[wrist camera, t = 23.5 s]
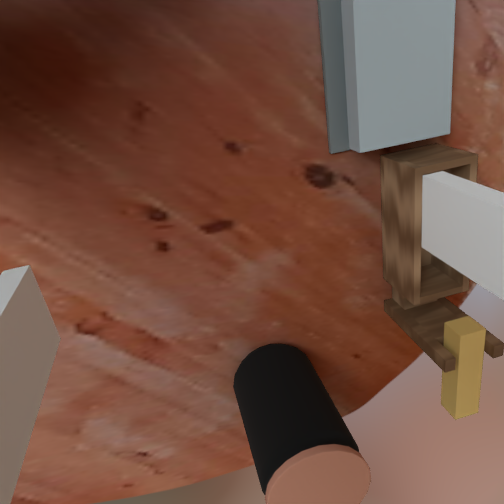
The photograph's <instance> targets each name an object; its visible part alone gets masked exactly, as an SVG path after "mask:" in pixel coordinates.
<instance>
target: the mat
mask: <svg viewBox="0 0 504 504" xmlns="http://www.w3.org/2000/svg"><path fill="white" fill-rule="evenodd" d="M317 1H318V14H319V27H320V40H321V53H322V66H323V79H324V91H325V104H326V117H327V130H328V143H329V153H331V154H332V153H337V152H342V151H346V150H351V149H349V133H348V116H347V98H346V81H345V63H344V46H343V28H342V11H341V0H317Z"/></svg>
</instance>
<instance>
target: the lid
mask: <svg viewBox="0 0 504 504" xmlns="http://www.w3.org/2000/svg"><path fill="white" fill-rule="evenodd" d="M455 3H456V0H341V11H342V28H343V46H344V63H345V81H346V98H347V116H348V133H349V149H351V150H354V151H356V152H359V153H362V152H367V151H372V150H376V149H381V148H386V147H390V146H395V145H400V144H404V143H409V142H414V141H418V140H423V139H428V138H432V137H437V136H442V135H446V134H450V122H451V98H452V74H453V50H454V26H455Z"/></svg>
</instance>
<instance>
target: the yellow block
mask: <svg viewBox="0 0 504 504" xmlns="http://www.w3.org/2000/svg"><path fill="white" fill-rule="evenodd" d="M485 335H486V328H484V327H483V326H482V325H480V324H479V323H478V322H476V321H475V320H474V319H473V318H471V317H470V316H466V317H462V318H459V319H455V320H452V321H448V322H445V323H444V345H443V346H444V347H445V348H446V349H447V350H448V351H449V352H450V353H451V354H452V355H453V356H454V357H455V358H456V363H455V370H453V371H449V372H446V373H445V372H444V371H443V370H442V391H441V404H442V405H443V407H444V408H445V409H446V410H447V411H448V412H449V413H450V415H451V416H452V417H453V418H454V419H455V420H456V419H459V418H463V417H466V416H469V415H472V414H475V413H478V408H479V397H480V387H481V377H482V366H483V356H484V345H485Z"/></svg>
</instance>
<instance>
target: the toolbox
mask: <svg viewBox="0 0 504 504" xmlns="http://www.w3.org/2000/svg"><path fill="white" fill-rule="evenodd" d="M477 165H478V154H475V153H471V152H467V151H464V150H460V149H456V148H452V147H449V146H445V145H441V144H437V143H434V144H430V145H425V146H421V147H416V148H411V149H407V150H402V151H398V152H393V153H388V154H384V155H380V170H381V208H382V245H383V278H384V279H385V280H386V281H387V282H388V283H389V284H390V285H392V299H388V300H384V311H385V312H386V313H387V314H388V315H389V316H390V317H391V318H392V319H393V320H394V321H395V322H396V323H397V324H398V325H399V326H400V327H401V328H402V329H403V330H404V331H405V332H406V333H407V334H408V335H409V336H410V337H411V339H412V340H413V341H414V342H415V343H416V344H417V345H418V346H419V347H420V348H421V349H422V350H423V351H424V352H425V353H426V354H427V355H428V356H429V357H430V358H431V359H432V360H433V361H434V362H435V363H436V364H437V365H438V366H439V367H440V368H441V369H442V370H443V371H444V372H445V373H446V372H449V371H453V370H455V363H456V358H455V357H454V356H453V355H452V354H451V353H450V352H449V351H448V350H447V349H446V348H445V347H444V346H443V345H444V323H445V322H448V321H452V320H455V319H459V318H462V317H466V316H468V315H467V314H465V313H464V312H463V311H462V310H460V309H459V308H458V307H456V306H455V305H454V304H452V303H451V302H450V301H449V300H447V299H446V298H445V297H446V296H450V295H453V294H457V293H461V292H464V291H468V290H469V278H468V277H466V276H465V275H463V274H462V273H460V272H459V271H457V270H456V269H454V268H453V267H451V266H450V265H448V264H446V263H445V262H443V261H442V260H440V259H439V258H437V257H436V256H434V255H433V254H431V253H430V252H428V251H427V250H425V249H424V248H422V247H421V246H422V183H423V175H427V174H432V173H436V172H441V171H444V172H447V173H450V174H452V175H455V176H458V177H461V178H464V179H466V180H469V181H472V182H475V183H476V179H477ZM503 349H504V343H503V342H502V341H500V340H499V339H498V338H496V337H495V336H494V335H493V334H491V333H490V332H489V331H487V330H486V335H485V345H484V351H485V352H486V353H487V354H489V355H490V356H491V357H492V358H496V357H499V356H502V355H503Z"/></svg>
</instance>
